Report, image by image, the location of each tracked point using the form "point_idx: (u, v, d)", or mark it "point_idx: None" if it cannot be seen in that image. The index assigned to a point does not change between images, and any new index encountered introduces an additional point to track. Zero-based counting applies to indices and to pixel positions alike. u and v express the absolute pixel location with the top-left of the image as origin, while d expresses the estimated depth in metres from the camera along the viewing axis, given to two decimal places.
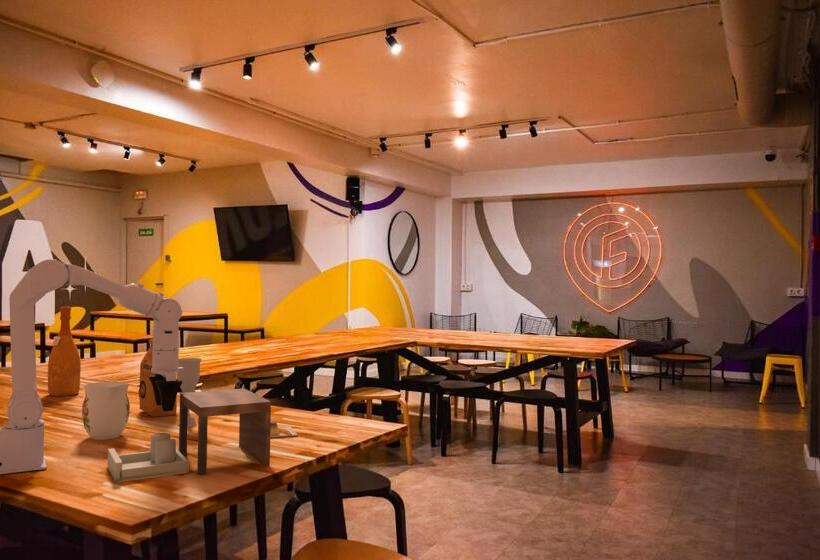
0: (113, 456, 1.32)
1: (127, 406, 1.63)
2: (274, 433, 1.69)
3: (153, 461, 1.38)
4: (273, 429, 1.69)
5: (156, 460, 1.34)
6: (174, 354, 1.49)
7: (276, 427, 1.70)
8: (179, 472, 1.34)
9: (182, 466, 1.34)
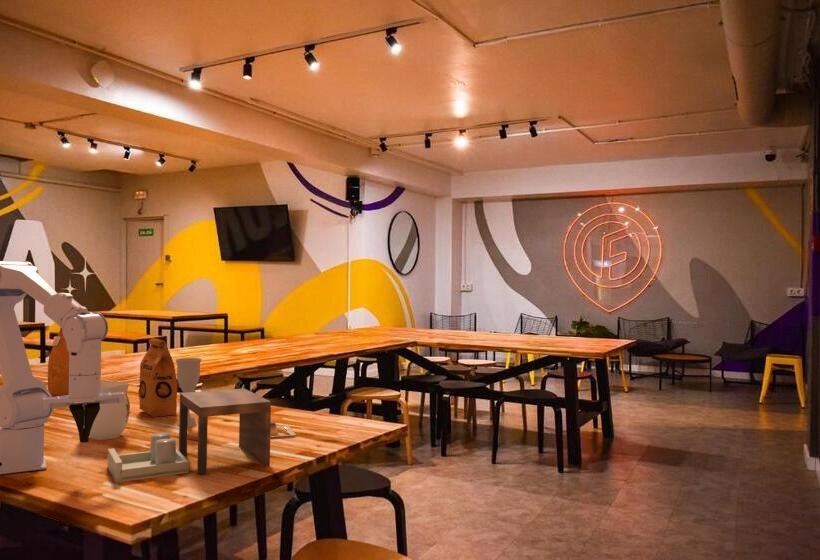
0: (113, 456, 1.32)
1: (127, 406, 1.63)
2: (273, 433, 1.68)
3: (153, 461, 1.38)
4: (272, 429, 1.69)
5: (156, 460, 1.34)
6: (72, 380, 1.27)
7: (275, 427, 1.70)
8: (179, 472, 1.34)
9: (182, 466, 1.34)
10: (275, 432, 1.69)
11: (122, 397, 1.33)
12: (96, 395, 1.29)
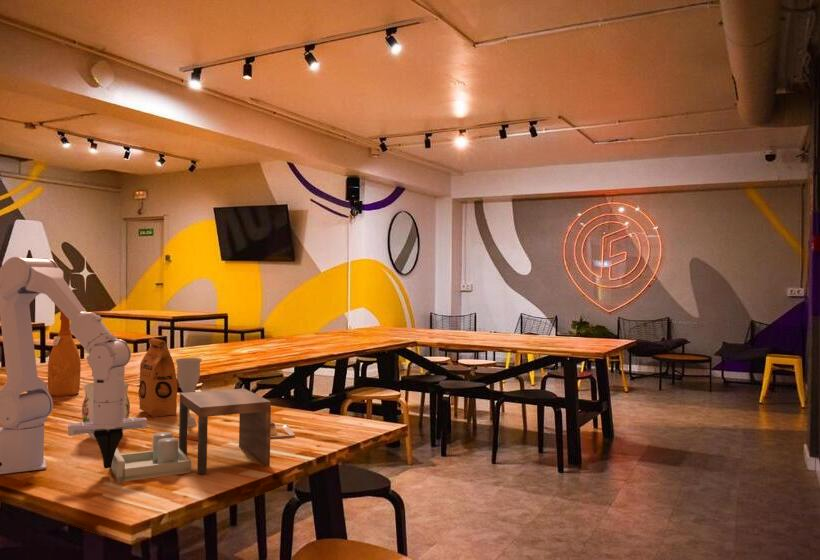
0: (116, 455, 1.32)
1: (127, 406, 1.63)
2: (272, 433, 1.68)
3: (155, 460, 1.39)
4: (271, 430, 1.68)
5: (159, 459, 1.34)
6: (96, 407, 1.30)
7: (274, 427, 1.69)
8: (181, 471, 1.34)
9: (184, 465, 1.34)
10: (274, 432, 1.69)
11: (144, 423, 1.35)
12: (120, 421, 1.31)
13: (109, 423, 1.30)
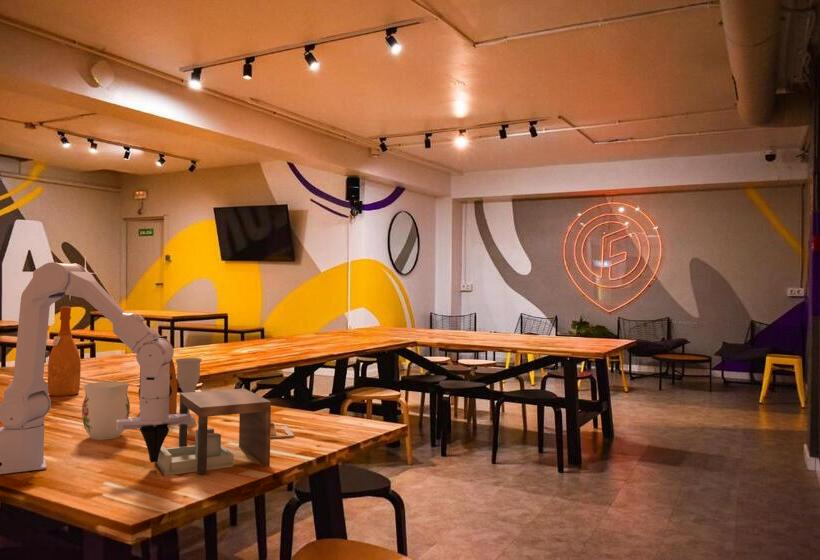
0: (161, 449, 1.37)
1: (127, 406, 1.63)
2: (271, 434, 1.68)
3: None
4: (270, 430, 1.68)
5: None
6: (143, 403, 1.34)
7: (273, 428, 1.69)
8: (224, 465, 1.39)
9: (227, 459, 1.39)
10: (273, 432, 1.69)
11: (188, 419, 1.40)
12: (166, 417, 1.36)
13: (156, 419, 1.34)
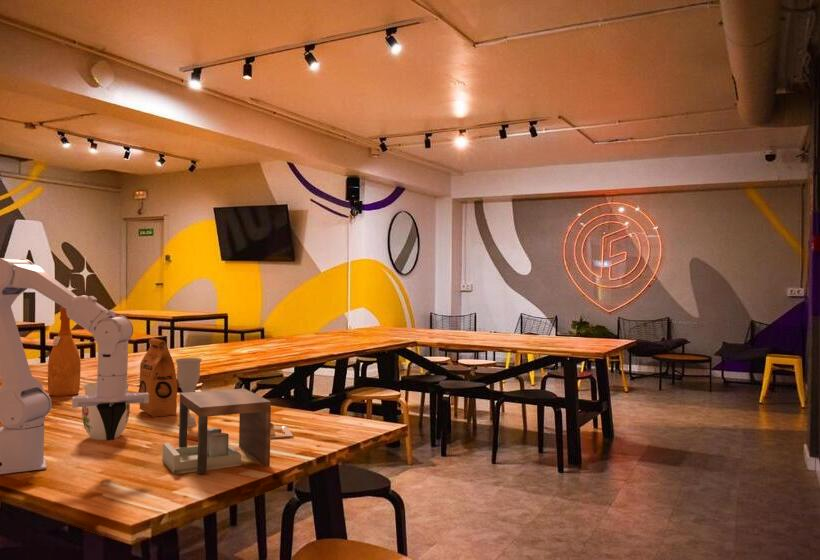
0: (170, 449, 1.38)
1: (127, 406, 1.63)
2: (270, 434, 1.68)
3: None
4: None
5: (210, 453, 1.40)
6: (100, 380, 1.33)
7: (272, 428, 1.69)
8: (232, 464, 1.40)
9: (235, 459, 1.40)
10: (272, 433, 1.68)
11: (147, 397, 1.38)
12: (123, 395, 1.35)
13: (112, 396, 1.33)
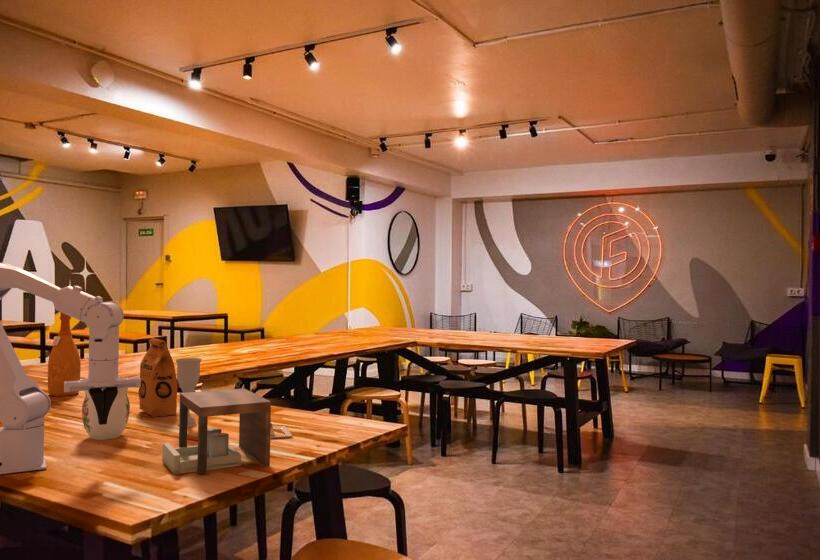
0: (170, 449, 1.38)
1: (127, 406, 1.63)
2: None
3: None
4: None
5: (210, 453, 1.40)
6: (91, 365, 1.34)
7: (271, 428, 1.69)
8: (232, 465, 1.40)
9: (235, 459, 1.40)
10: (271, 433, 1.68)
11: (138, 382, 1.39)
12: (114, 379, 1.36)
13: (104, 381, 1.34)
